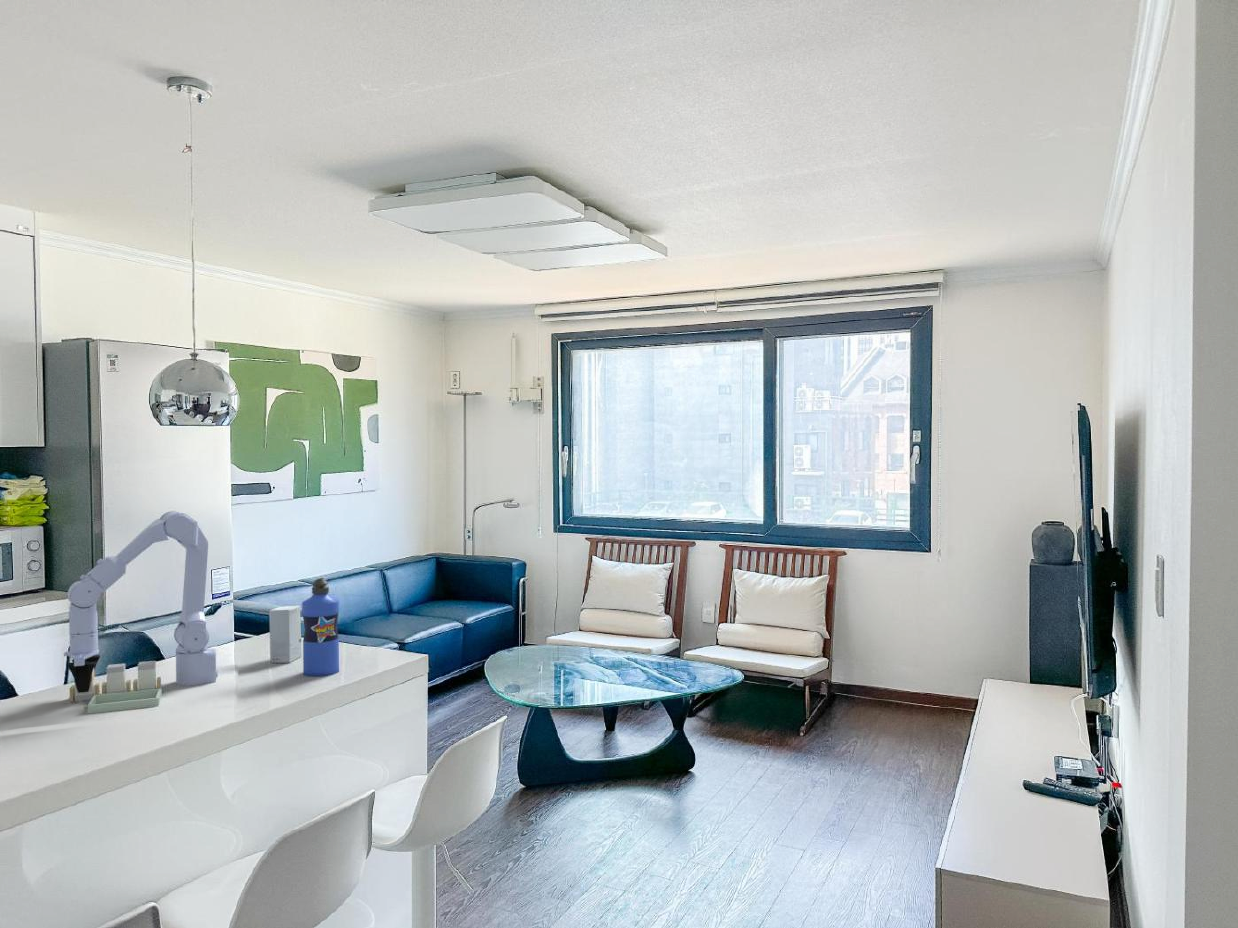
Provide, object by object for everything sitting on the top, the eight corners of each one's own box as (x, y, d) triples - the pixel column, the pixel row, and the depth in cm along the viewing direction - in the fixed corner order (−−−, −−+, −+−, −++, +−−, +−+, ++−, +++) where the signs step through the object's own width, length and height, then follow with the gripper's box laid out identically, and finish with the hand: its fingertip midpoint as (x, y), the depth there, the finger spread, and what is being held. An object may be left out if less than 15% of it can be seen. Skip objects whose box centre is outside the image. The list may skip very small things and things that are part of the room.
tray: (161, 699, 208) (161, 688, 208) (158, 709, 200) (158, 698, 200) (93, 706, 203) (93, 695, 203) (87, 717, 194) (87, 705, 194)
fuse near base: (156, 689, 214) (155, 660, 214) (154, 692, 211) (154, 663, 210) (139, 690, 212) (139, 662, 212) (138, 694, 209) (137, 665, 209)
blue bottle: (344, 673, 232) (343, 579, 231) (308, 678, 227) (307, 582, 226) (333, 666, 240) (332, 575, 239) (298, 671, 234) (297, 578, 234)
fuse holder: (164, 691, 216) (164, 674, 216) (162, 697, 210) (162, 680, 210) (69, 700, 208) (69, 683, 208) (65, 707, 202) (65, 690, 202)
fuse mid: (125, 692, 211) (125, 663, 211) (124, 695, 208) (123, 666, 208) (108, 693, 210) (108, 664, 210) (106, 697, 207) (106, 668, 206)
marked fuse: (94, 695, 209) (94, 666, 208) (92, 699, 205) (91, 669, 205) (77, 697, 207) (76, 667, 207) (74, 700, 204) (74, 671, 204)
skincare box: (290, 663, 243) (289, 610, 243) (268, 663, 243) (268, 609, 243) (302, 656, 251) (301, 604, 251) (281, 656, 252) (281, 604, 251)
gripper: (69, 627, 211) (70, 683, 211) (58, 639, 198) (59, 699, 198) (103, 625, 214) (104, 680, 214) (94, 637, 201) (95, 695, 201)
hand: (84, 689), depth 206 cm, fingers closed on marked fuse, 3 cm apart
